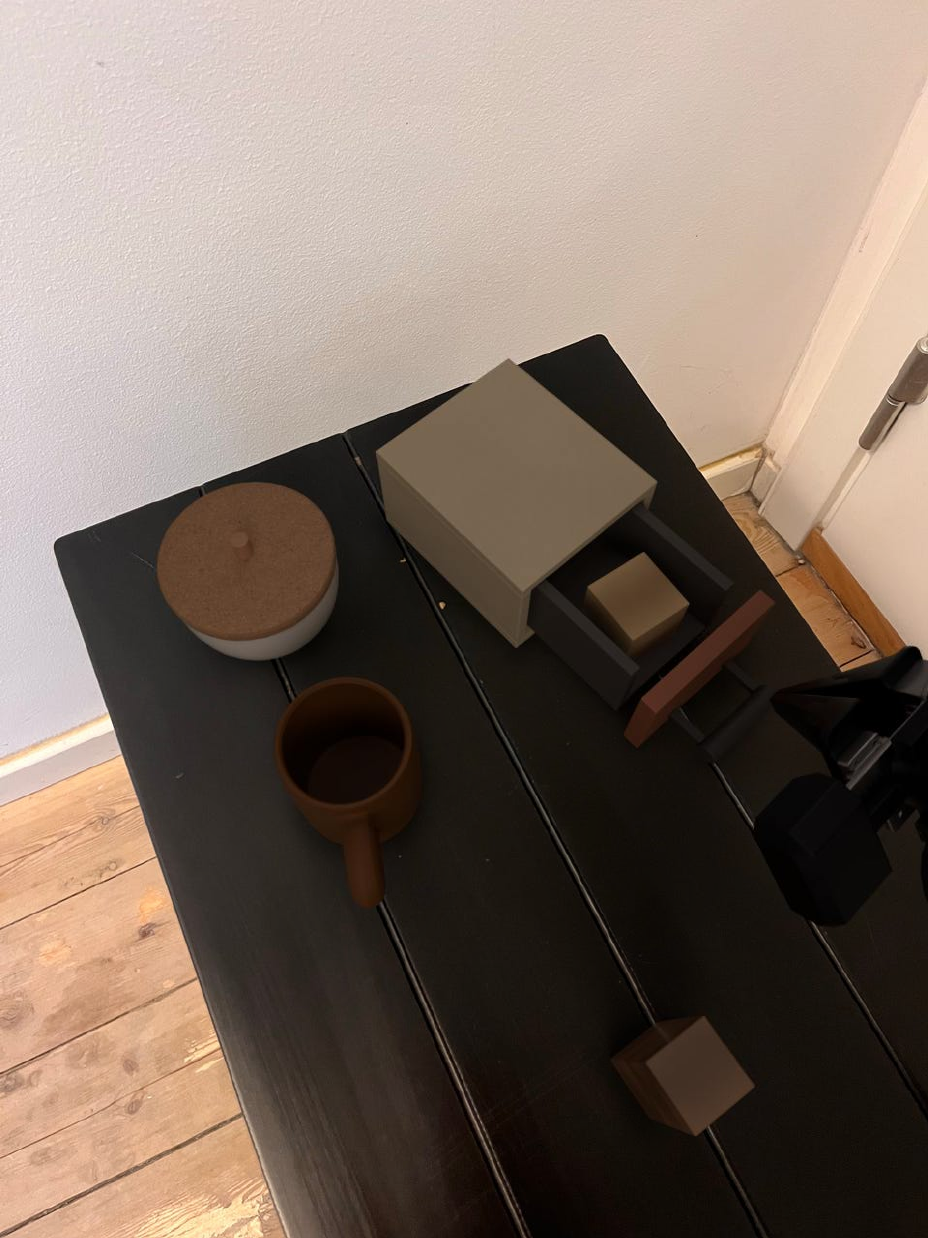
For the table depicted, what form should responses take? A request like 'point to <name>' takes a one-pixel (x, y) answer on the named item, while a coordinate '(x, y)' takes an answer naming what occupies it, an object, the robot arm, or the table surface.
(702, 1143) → the table surface
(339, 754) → the mug
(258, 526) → the trinket box
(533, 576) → the cabinet
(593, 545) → the drawer
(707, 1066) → the post
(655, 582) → the block
